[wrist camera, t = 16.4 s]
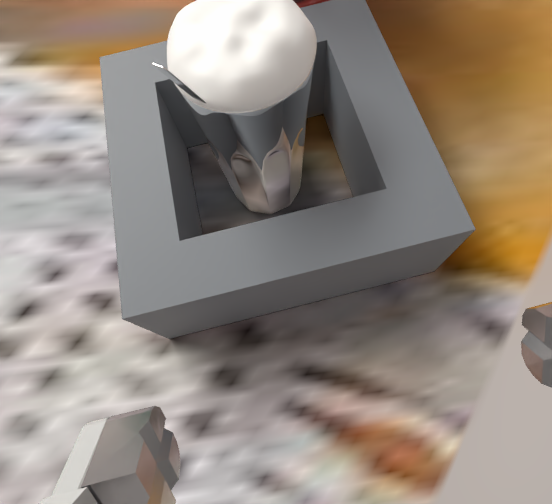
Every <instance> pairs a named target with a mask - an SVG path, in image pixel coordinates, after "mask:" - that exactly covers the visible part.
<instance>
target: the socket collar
mask: <svg viewBox="0 0 552 504" xmlns="http://www.w3.org/2000/svg"><path fill="white" fill-rule="evenodd" d="M300 9H301V10H302V12H303V13H304V14H305V16H306V17H307V18H308V20H309V21H310V23H311V24H312V26H313V28H314V30H315V33H316V38H317V49H316V55H315V61H314V68H313V76H312V83H311V91H310V98H309V105H308V113H307V118H309V117H313V116H317V115H321V114H324V117H325V120H326V123H327V125H328V128H329V131H330V134H331V136H332V139H333V142H334V145H335V148H336V150H337V153H338V156H339V159H340V161H341V164H342V167H343V170H344V173H345V175H346V178H347V181H348V184H349V186H350V189H351V192H352V195H353V197H352V198H348V199H344V200H340V201H336V202H332V203H328V204H324V205H320V206H316V207H312V208H308V209H304V210H300V211H296V212H292V213H288V214H284V215H280V216H276V217H272V218H268V219H264V220H261V221H257V222H253V223H249V224H245V225H241V226H237V227H233V228H229V229H225V230H221V231H217V232H213V233H209V234H205V235H203V234H202V229H201V223H200V218H199V212H198V207H197V201H196V196H195V190H194V185H193V179H192V174H191V168H190V163H189V157H188V152H187V148H188V147H192V146H196V145H200V144H204V143H208V141H207V139H206V137H205V136H204V134H203V132H202V130H201V128H200V127H199V125H198V123H197V121H196V120H195V118H194V116H193V115H192V113H191V111H190V109H189V108H188V106H187V104H186V102H185V101H184V99H183V97H182V95H181V94H180V92H179V90H178V88H177V87H176V85H175V84H174V82H173V81H172V80H170V79H169V78H168V77H167V76H165V75H164V74H163V73H162V72H160V71H159V70H158V69H157V68H156V67H154V66H153V65H152V63H156V64H158V65H161V66H163V67H165V68H167V69H168V66H167V41H164V42H160V43H156V44H152V45H148V46H144V47H140V48H136V49H132V50H128V51H123V52H119V53H115V54H111V55H107V56H103V57H100V67H101V79H102V90H103V102H104V113H105V125H106V137H107V148H108V160H109V171H110V183H111V194H112V206H113V218H114V229H115V241H116V252H117V264H118V276H119V287H120V299H121V310H122V319H124V320H126V321H128V322H131V323H133V324H135V325H138V326H140V327H143V328H145V329H147V330H150V331H152V332H154V333H157V334H159V335H161V336H164V337H166V338H169V339H171V338H175V337H178V336H182V335H186V334H190V333H194V332H198V331H202V330H206V329H210V328H214V327H218V326H222V325H226V324H230V323H233V322H237V321H241V320H245V319H249V318H253V317H257V316H261V315H265V314H269V313H273V312H277V311H281V310H285V309H289V308H292V307H296V306H300V305H304V304H308V303H312V302H316V301H320V300H324V299H328V298H332V297H336V296H340V295H344V294H347V293H351V292H355V291H359V290H363V289H367V288H371V287H375V286H379V285H383V284H387V283H391V282H395V281H399V280H402V279H406V278H410V277H414V276H418V275H422V274H426V273H430V272H434V271H435V270H436V269H437V268H438V267H439V266H440V265H441V264H442V263H443V262H444V261H445V260H446V259H447V258H448V257H449V256H450V255H451V254H452V253H453V252H454V251H455V250H456V249H457V248H458V247H459V246H460V245H461V244H462V243H463V242H464V241H465V240H466V239H467V238H468V237H469V236H470V235H471V234H472V233H473V232H474V230H475V227H474V225H473V223H472V221H471V219H470V216H469V214H468V212H467V210H466V208H465V206H464V204H463V202H462V200H461V198H460V196H459V194H458V192H457V189H456V187H455V185H454V183H453V181H452V179H451V177H450V175H449V173H448V171H447V169H446V167H445V165H444V162H443V160H442V158H441V156H440V154H439V152H438V150H437V148H436V146H435V144H434V142H433V140H432V138H431V136H430V133H429V131H428V129H427V127H426V125H425V123H424V121H423V119H422V117H421V115H420V113H419V111H418V109H417V106H416V104H415V102H414V100H413V98H412V96H411V94H410V92H409V90H408V88H407V86H406V84H405V82H404V80H403V77H402V75H401V73H400V71H399V69H398V67H397V65H396V63H395V61H394V59H393V57H392V55H391V53H390V50H389V48H388V46H387V44H386V42H385V40H384V38H383V36H382V34H381V32H380V30H379V28H378V26H377V23H376V21H375V19H374V17H373V15H372V13H371V11H370V9H369V7H368V5H367V3H366V1H365V0H330V1H326V2H322V3H318V4H314V5H310V6H306V7H302V8H300Z"/></svg>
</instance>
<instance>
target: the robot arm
mask: <svg viewBox="0 0 552 504" xmlns="http://www.w3.org/2000/svg"><path fill="white" fill-rule="evenodd" d="M522 325H523V326H524V327H525V328H526V329H527V330H528V333H527V334H526V336H525V337H524V338H523V340H522V342H521V348H522V356H523V359H524V361H525V364H526V366H527V367H528V369H529V370H530V372H531V373H532V374H533V376H534V377H535V378H536V379H538V381H540V382H541V384H544V385H546V386H549V387H552V302H550V303H546V304H542V305H539V306H535V307H531V308H527V309H526V310H525V312H524V313H523V316H522ZM165 420H166V418H165V416H164V414H163V412H162V410H161V408H160V407H157V406H153V407H149V408H144V409H140V410H136V411H132V412H128V413H123V414H119V415H115V416H111V417H109V418H104V419H100V420H96V421H92V422H88V423H87V424H86V425H85V426H84V427H83V428H82V429H81V432H80V434H79V436H78V438H77V440H76V443H75V445H74V447H73V449H72V451H71V454H70V456H69V458H68V460H67V463H66V465H65V467H64V469H63V471H62V474H61V476H60V478H59V480H58V482H57V485H56V487H55V489H54V491H53V493H52V496H51V497H47V498H43V499H42V500H41V501H40V502H39V503H38V504H175V503H176V500H175V498H174V496H173V494H172V492H171V489H172V488H173V487H174V485H175V484H176V482H177V481H178V480H179V473H180V453H179V448H178V444H177V441H176V439H175V436H174V434H173V433H172V432H170V431H168V430H167V429H165V428H164V425H165Z"/></svg>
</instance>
